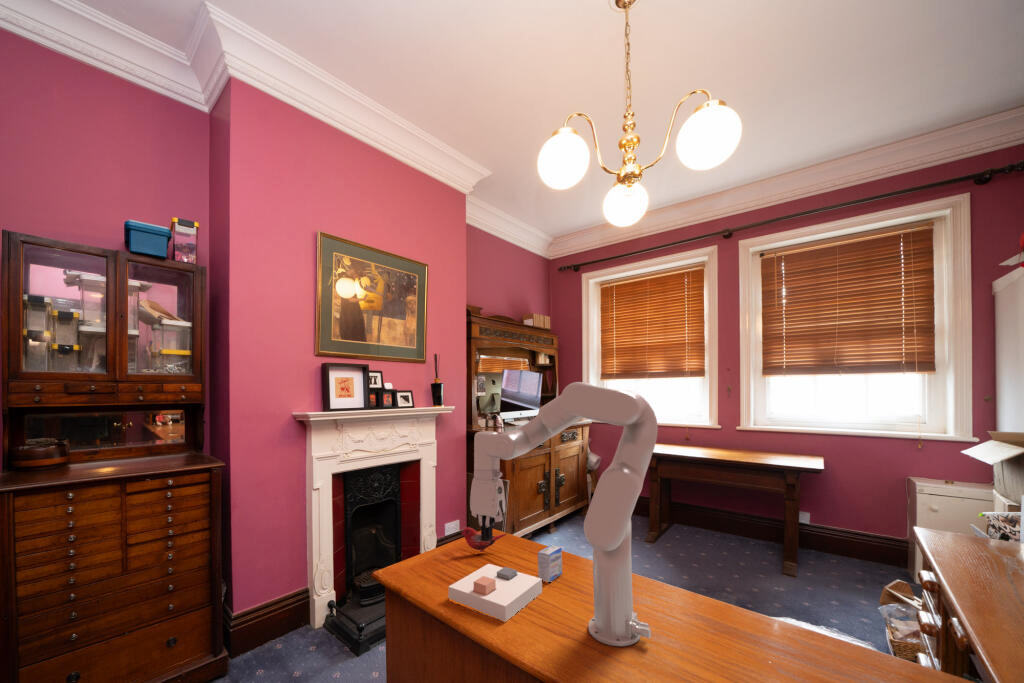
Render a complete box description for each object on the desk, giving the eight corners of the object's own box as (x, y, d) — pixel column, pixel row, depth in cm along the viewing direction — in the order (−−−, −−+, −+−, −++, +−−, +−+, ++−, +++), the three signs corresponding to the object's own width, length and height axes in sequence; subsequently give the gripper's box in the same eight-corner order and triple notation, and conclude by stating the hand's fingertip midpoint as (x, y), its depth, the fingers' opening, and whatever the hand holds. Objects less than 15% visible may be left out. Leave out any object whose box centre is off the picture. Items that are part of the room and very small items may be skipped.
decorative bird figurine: (460, 555, 152) (460, 526, 153) (506, 549, 157) (506, 521, 158) (461, 558, 149) (461, 529, 150) (508, 552, 154) (508, 524, 156)
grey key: (516, 580, 126) (516, 570, 126) (508, 586, 122) (508, 575, 123) (505, 577, 128) (505, 566, 129) (496, 582, 125) (496, 571, 125)
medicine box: (549, 584, 129) (549, 554, 130) (537, 580, 131) (537, 551, 132) (562, 575, 135) (562, 547, 136) (551, 571, 138) (550, 544, 139)
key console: (542, 593, 123) (542, 578, 123) (505, 622, 107) (505, 606, 108) (488, 576, 134) (488, 563, 134) (448, 601, 118) (448, 586, 119)
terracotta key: (495, 590, 117) (495, 579, 117) (486, 597, 114) (486, 585, 114) (483, 586, 120) (483, 575, 120) (473, 593, 116) (473, 581, 116)
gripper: (515, 475, 120) (515, 541, 118) (475, 469, 129) (475, 531, 126) (499, 479, 114) (499, 549, 112) (459, 473, 123) (458, 538, 120)
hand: (486, 539), depth 119 cm, fingers closed
